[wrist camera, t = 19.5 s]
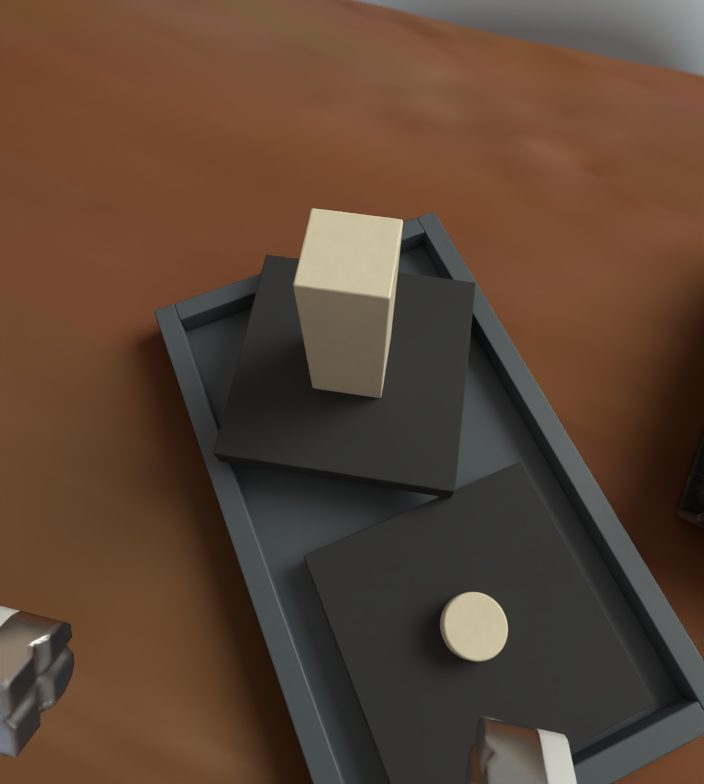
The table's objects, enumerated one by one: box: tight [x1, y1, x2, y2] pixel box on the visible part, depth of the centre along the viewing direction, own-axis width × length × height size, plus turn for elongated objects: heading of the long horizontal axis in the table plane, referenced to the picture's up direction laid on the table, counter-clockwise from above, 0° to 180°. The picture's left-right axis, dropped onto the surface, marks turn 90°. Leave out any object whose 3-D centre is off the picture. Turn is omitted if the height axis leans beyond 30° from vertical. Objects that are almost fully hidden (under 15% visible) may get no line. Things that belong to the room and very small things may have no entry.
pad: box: [304, 462, 655, 784], centre depth 22 cm, size 10×10×2 cm
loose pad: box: [213, 208, 475, 498], centre depth 22 cm, size 10×10×9 cm
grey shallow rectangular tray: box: [155, 212, 704, 784], centre depth 25 cm, size 15×25×2 cm, turn 23°
